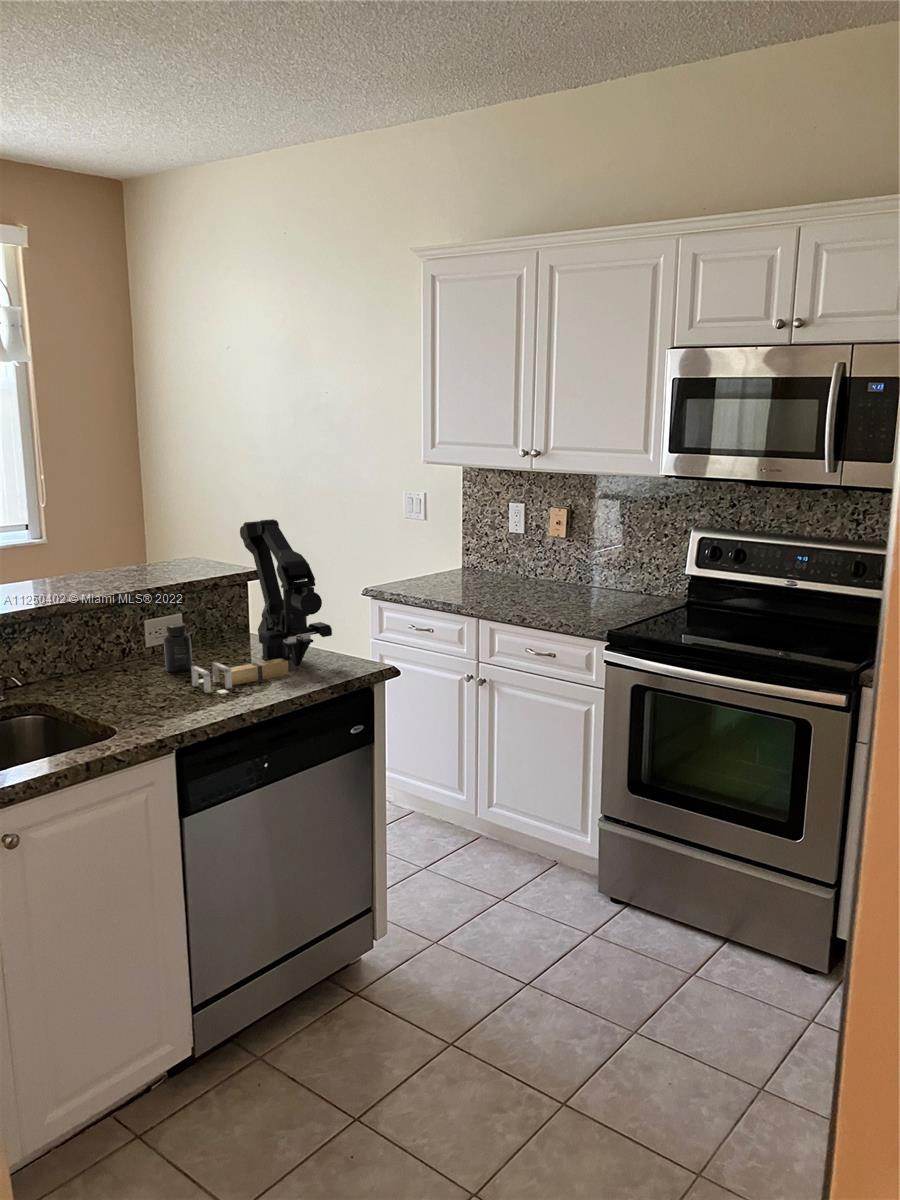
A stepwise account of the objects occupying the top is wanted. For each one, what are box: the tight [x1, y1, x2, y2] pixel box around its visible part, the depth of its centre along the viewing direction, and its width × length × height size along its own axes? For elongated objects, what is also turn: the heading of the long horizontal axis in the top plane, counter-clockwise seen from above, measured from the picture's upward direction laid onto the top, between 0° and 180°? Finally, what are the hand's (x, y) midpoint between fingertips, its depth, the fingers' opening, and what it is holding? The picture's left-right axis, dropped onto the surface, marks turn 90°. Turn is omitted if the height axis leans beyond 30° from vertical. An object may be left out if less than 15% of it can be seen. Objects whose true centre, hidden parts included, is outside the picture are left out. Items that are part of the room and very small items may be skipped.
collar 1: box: [190, 665, 212, 694], centre depth 233 cm, size 1×8×5 cm, turn 39°
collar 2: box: [211, 661, 233, 690], centre depth 237 cm, size 1×8×5 cm, turn 39°
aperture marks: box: [199, 678, 229, 695], centre depth 235 cm, size 2×14×1 cm, turn 39°
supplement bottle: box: [163, 622, 194, 673], centre depth 250 cm, size 7×7×12 cm
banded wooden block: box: [223, 658, 289, 686], centre depth 243 cm, size 16×4×4 cm, turn 129°
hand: (297, 666), depth 250 cm, fingers closed
